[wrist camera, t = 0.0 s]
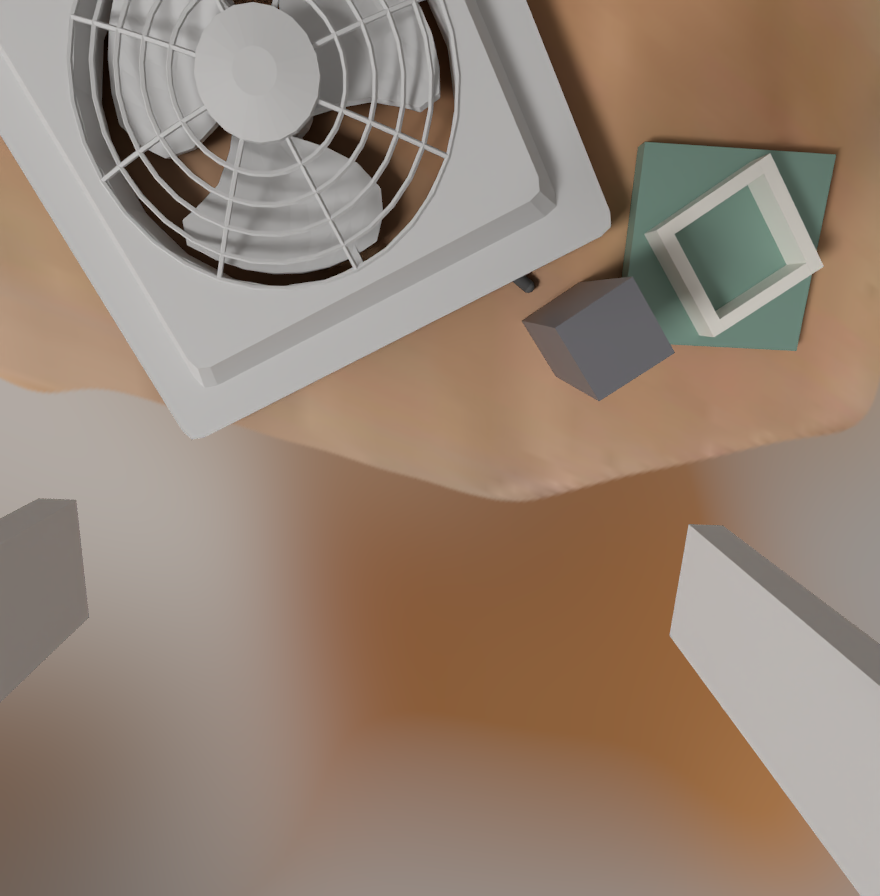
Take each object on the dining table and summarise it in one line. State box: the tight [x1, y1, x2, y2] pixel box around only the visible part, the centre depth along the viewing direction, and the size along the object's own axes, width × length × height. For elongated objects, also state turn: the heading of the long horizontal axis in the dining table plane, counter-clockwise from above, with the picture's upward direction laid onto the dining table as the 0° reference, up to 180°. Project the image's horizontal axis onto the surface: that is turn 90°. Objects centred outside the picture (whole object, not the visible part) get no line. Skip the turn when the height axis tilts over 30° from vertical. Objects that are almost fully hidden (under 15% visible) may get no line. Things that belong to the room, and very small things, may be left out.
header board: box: [622, 142, 836, 351], centre depth 36 cm, size 12×12×3 cm
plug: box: [522, 277, 675, 401], centre depth 34 cm, size 4×5×10 cm
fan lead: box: [513, 275, 534, 293], centre depth 37 cm, size 9×1×1 cm, turn 52°
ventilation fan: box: [0, 0, 611, 439], centre depth 32 cm, size 30×6×30 cm
